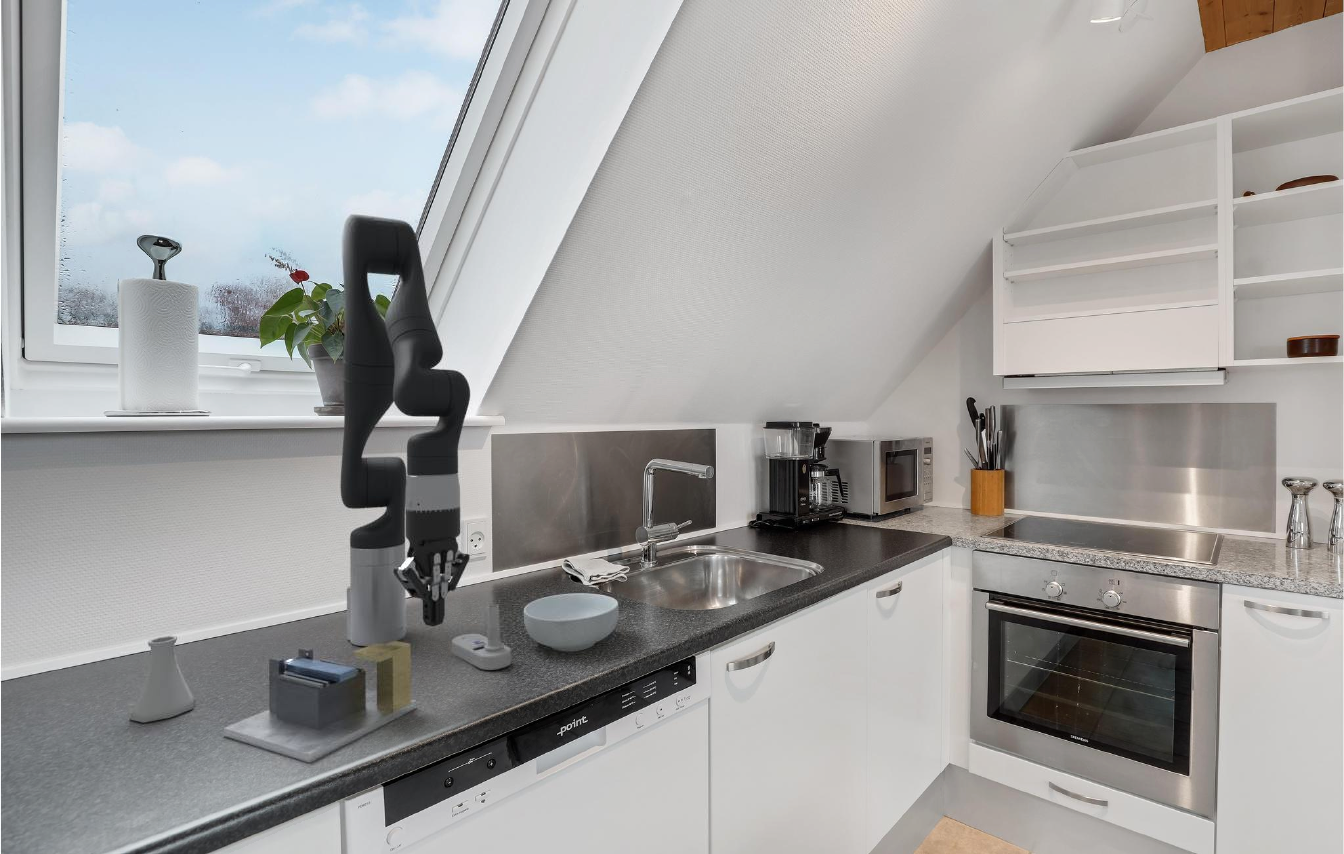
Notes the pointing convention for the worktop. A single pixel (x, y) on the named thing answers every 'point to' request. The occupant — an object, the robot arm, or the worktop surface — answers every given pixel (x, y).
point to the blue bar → (319, 669)
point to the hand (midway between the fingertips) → (434, 624)
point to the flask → (162, 685)
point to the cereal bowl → (571, 620)
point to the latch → (390, 673)
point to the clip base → (309, 737)
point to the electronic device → (484, 645)
